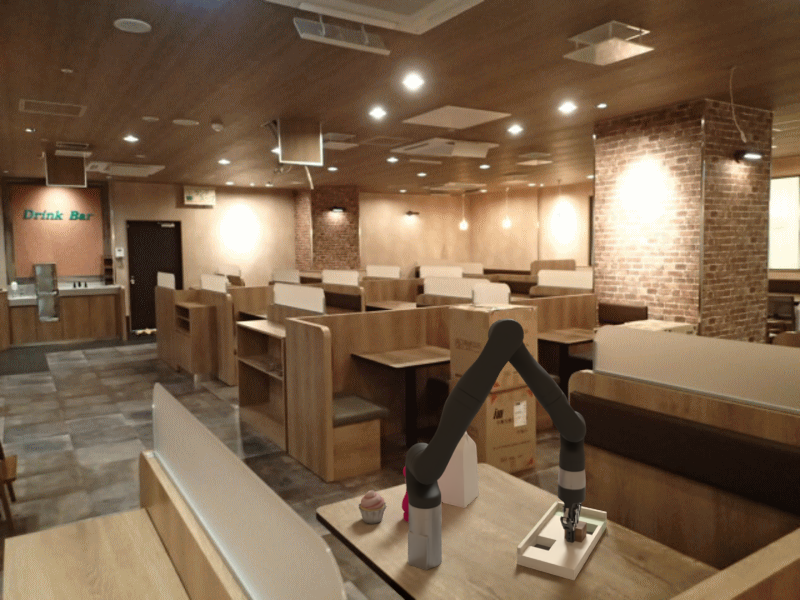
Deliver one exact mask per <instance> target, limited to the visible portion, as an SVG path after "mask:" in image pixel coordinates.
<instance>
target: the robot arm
mask: <svg viewBox="0 0 800 600" xmlns="http://www.w3.org/2000/svg"><path fill="white" fill-rule="evenodd" d="M487 338H488V339H487V341H486V343H485V345H484V347H483V349H482V351H481V352H480V354H479V355H478V357H477V358H476V359H475V360H474V362H473V363H472V364H471V365H470V367H468V368H467V370H466V371H464V373H463V374H462V375H461V377H460V378H459V379H458V381H457V382H456V383H455V385H454V386H453V388H452V390H451V392H450V393H449V395H448V397H447V398H446V400H445V402H444V405H443V408H442V412H441V416H440V420H439V424H438V426H437V429H436V431H435V433H434V435H433V437H432V438H431V440H430V441H429V443H426V442H418V443H415V444H414V445H412V446H411V447H410V448H409V449H408V450H407V453H406V454H405V463H404V465H405V466H404V467H405V473H406V477H405V478H406V484H405V487H406V489H407V493H408V502H409V522H408V532H407V564H408V565H410V566H412V567H416V568H419V569H422V570H425V571H427V570H429V569H431V568H435V567H437V566H439V565H440V564H442V560H443V551H442V550H443V546H442V544H443V541H442V540H443V539H442V537H443V536H442V527H443V526H442V502H441V492H440V489H439V485H438V481H437V480H438V479H439V478H440V477H441V476H442V474H443V473H444V471H445V469H446V467H447V465H448V463H449V461H450V459H451V457H452V455H453V453H454V451H455V449H456V447H457V445H458V443H459V441H460V440H461V438H462V437H463V435H464V434H465V432H466V431H467V430H468V428H469V427H470V425H471V424H472V422H473V420H474V419H475V417H476V415H478V414H479V411H480V410H481V409H482V407H483V405H484V403H485V402H486V400H487V398H488V396H489V395H490V393H491V391H492V389H493V387H494V385H495V383H496V382H497V380H498V378H499V376H500V374H501V372H502V370H503V368H505V366H506V365H507V364H508V363H510V365H511V366H512V367H513V369H514V370H515V371H516V372H517V374H518V375H519V376H520V377H521V379H522V380H523V382H524V383H525V384H526V386H527V387H528V389H529V390H530V392H531V393H532V395H533V396H534V397H535V398H536V400H537V401H538V403H539V404H540V405H541V407H542V408H543V409H544V411H546V412H547V414H548V416H549V417H550V419H551V421H552V423H553V425H554V426H555V427H556V430H557V431H558V433H559V439H560V440H559V441H560V442H559V443H560V445H559V455H558V456H559V457H558V475H557V498H558V499H559V500H560V502H564V505H563V508H562V511H563V517H562V516H561V517H560V521H561V524H562V526H563V529H565V530H566V541H567V542H571V543H573V542H574V541H575V528H576V527H577V524H578V522H579V516H580V511H581V506H582V507H583V504H582V503H584V502H585V500H586V482H587V481H586V480H587V479H586V477H587V476H586V453H585V452H586V450H585V436H586V435H587V427H586V421H585V418H584V416H583V415H582V414H581V413H580V412H578V411H576V410H574V408H573V407H572V406H571V404H570V403H569V400H568V398H567V396H566V394H565V393H564V392H563V390H562V389H561V388H560V386H559V384H558V383H557V382H556V381H555V380H554V379H553V377H552V376H551V375H550V374H549V372H547V370H546V369H545V368H543V366H541V364H540V363H539V362H538V361H537V360H536V359H535V358H534V356H533V355H532V354H531V352H530V351H529V350H528V348H527V346H526V344H525V343H524V339H525V333H524V328H523V326H522V324H521V323H519V321H518V320H515V319H512V318H502V319H498V320H496V321H495V322H493V323H492V324H491V325H490V326H489V327H488V332H487ZM406 489H405V490H406Z"/></svg>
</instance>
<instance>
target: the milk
mask: <svg viewBox="0 0 800 600" xmlns="http://www.w3.org/2000/svg"><path fill="white" fill-rule="evenodd" d="M477 449H478V448H477V444H476V442H475V440H474V439H473V438H471V436H470V435H469V434H468V432H467V430H466V432H465V434H464V435H463V437H462V438H461V440H460V441H459V443H458V445H457V447H456V449H455V451H454V453H453V455H452V457H451V459H450V461H449V463H448V465H447V467H446V469H445V471H444V473H443V474H442V476H441V477H440V478H439V479H438V480H437V481H438V485H439V489H440V492H441V503H442V502H443V503H444V504H446V503H447V504H446V505H452V506H455V507H460V508H462V507H463V509H465V508H467V507H468V506H469V505H470V504H471V503H472V502H474V500H476V499H477V498H478V497H479V496H480V487H479V471H478V469H479V468H478V452H477V451H478V450H477ZM476 497H477V498H476ZM475 498H476V499H475ZM443 503H442V504H443ZM468 504H469V505H468ZM467 505H468V506H467Z"/></svg>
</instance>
